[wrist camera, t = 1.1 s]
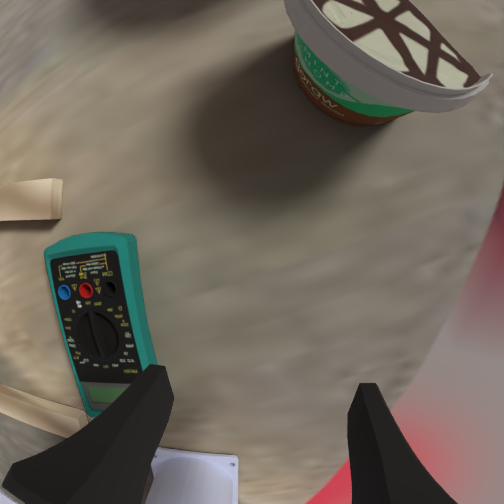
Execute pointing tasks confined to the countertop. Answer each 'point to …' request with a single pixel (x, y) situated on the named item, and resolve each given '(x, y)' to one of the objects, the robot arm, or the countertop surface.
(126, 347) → the digital multimeter
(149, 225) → the countertop surface
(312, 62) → the food container
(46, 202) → the notched board
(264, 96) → the countertop surface
